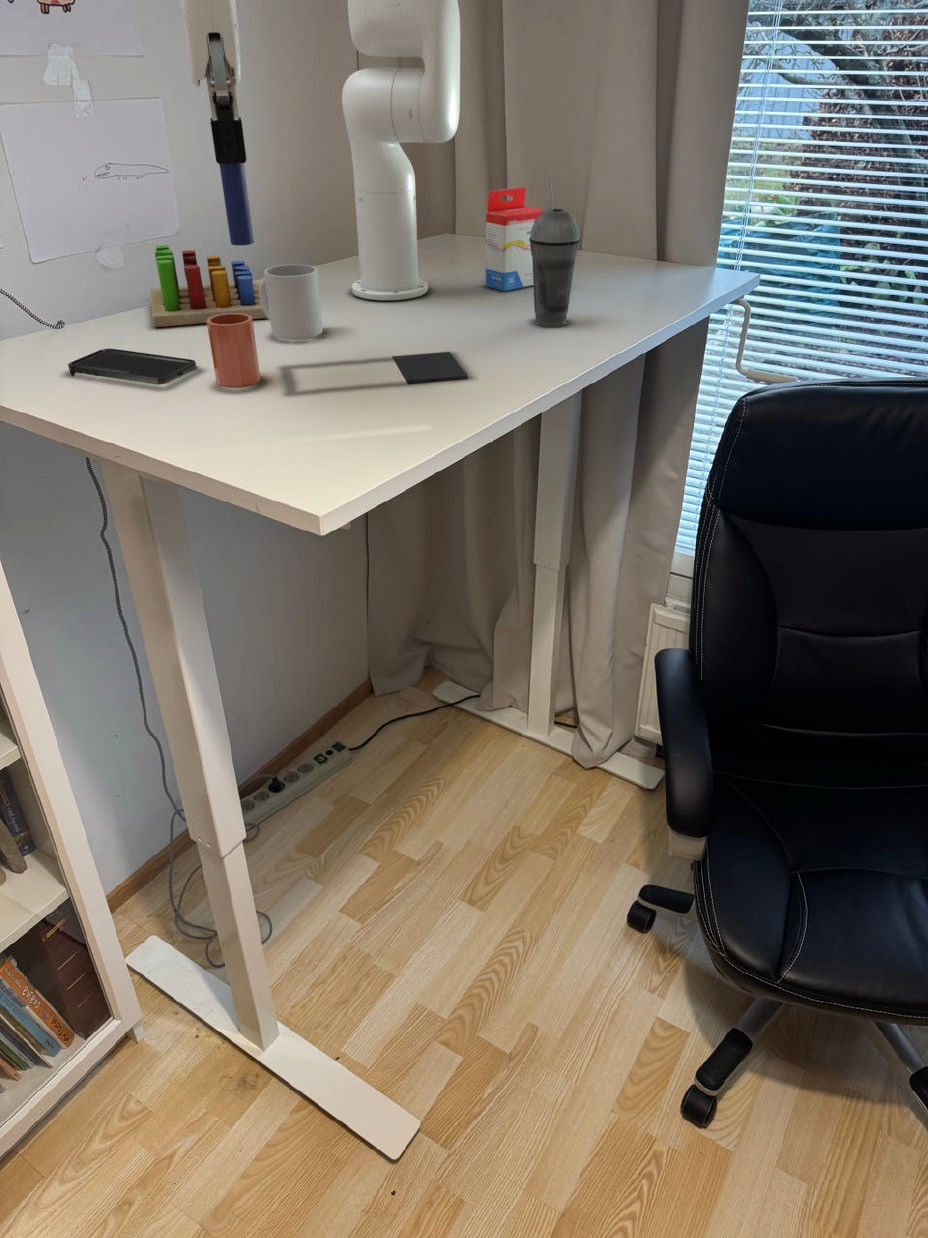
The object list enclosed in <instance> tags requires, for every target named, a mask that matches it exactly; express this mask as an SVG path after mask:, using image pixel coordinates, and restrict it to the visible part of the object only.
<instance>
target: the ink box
mask: <svg viewBox="0 0 928 1238" xmlns="http://www.w3.org/2000/svg"><path fill="white" fill-rule="evenodd" d="M526 192H527V190H526V187H525V186H522V187H512V188H504V189H497V190H490V191H488V192H487V207H486V208H487V209H486V213H485V286H486V287H487V288H491V289H495V290H498V291H502V292H506V291H511V290H517V289H521V288H522V289H523V288H527V287H531V286H534V282H533V258H532V254H531V247H530V242H529V239H530V236H531V230H532V226H533V224H534V222H535V220H536V219H537V218H538V216H540V215H541V214H542V213H543V212H544V210H543V209H541V208H537V207H532V206H525V205H526V203H525V202H526ZM506 196H508V197H512V199H511V200H505V201H501V198H506Z"/></svg>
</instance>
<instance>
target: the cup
mask: <svg viewBox="0 0 928 1238" xmlns="http://www.w3.org/2000/svg"><path fill="white" fill-rule="evenodd" d="M263 272H264V276H263V277H262V279H261V280H260V281H259V282H260V286H259V296H260V302H261V306H262V309H263V311H264V314H265V315H266V317H267V318H266V319H268V320H269V321H270V322H269V323H270V327H271V328H270V330H271V334H272V335H273V336H274V337H275V338H278V339H285V340H303V339H304V340H305V339H309V338H314V337H318V336H319V335H321V334H322V333H323V332H324V331H323V329H324V328H323V327H324V325H323V316H322V303H321V294H320V283H319V273H318V272H319V271H318V267H315V266H313V265H310V264H295V263H293V264H281V265H275V266H270V267H268V268H266V269H265V270H264V271H263Z"/></svg>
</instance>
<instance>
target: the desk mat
mask: <svg viewBox="0 0 928 1238" xmlns="http://www.w3.org/2000/svg"><path fill="white" fill-rule="evenodd" d="M391 358H392V360H393V361H394V363H395V365H396V367H397V369H398V370H399V372H400V373H401V376H402V377H403V379H404V381H405V382H406V384H407V385H408V384H409V385H410V384H419V383H430V382H431V383H433V382H442V381H443V382H444V381H453V380H466V379H468V377H469V376H468V373H466V372H465V370H464V369H463V368H462V366H461V365H460V363H459V362H458V361H457V359H456V358H455V357H454V355H453V354H452V353H451V351H443V352H441V351H440V352H429V353H417V354H406V355H405V354H404V355H393V356H392V355H391Z"/></svg>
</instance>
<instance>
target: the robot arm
mask: <svg viewBox="0 0 928 1238" xmlns="http://www.w3.org/2000/svg"><path fill="white" fill-rule="evenodd" d="M179 2H180V9H181V16H182V23H183V29H184V30H183V31H184V35H185V42H186V48H187V56H188V62H189V68H190V74H191V80H192V84H193V85H194V86H195V87H197V88H200V87H201V81H204V80H205V78H206V84H207V92H208V99H209V105H210V106H209V107H210V112H211V117H210V129H211V135H212V143H213V149H214V157H215V162H216V164H218V165H219V164H237V163H244V164H246V162H247V152H246V145H245V137H244V128H243V122H242V117H240V116H239V108H238V101H237V93H236V92H237V91H236V90H237V88H236V87H237V86H239V85H240V83H241V81H242V80H241V79H242V77H241V75H242V70H241V69H242V66H241V64H242V63H241V47H240V46H241V45H240V33H239V32H240V31H239V22H238V21H239V20H238V13H237V4H236V3H237V2H236V0H179ZM347 13H348V14H347V15H348V16H347V17H348V26H349V32H350V38H351V41H352V44H353V46H354V48H355V49H356V50H357V51H358V52H360V53H361V54H363V55H366V56H371V57H383V58H384V57H385V58H421V59H422V60H423V64H424V68H404V67H368V68H363V69H359V70H357V71H355V72H353V73H351V74H350V75H349V77H348V78H347V79H346V80H345V82H344V85H343V87H342V91H341V105H342V114H343V117H344V122H345V126H346V127H345V128H346V130H347V135H348V140H349V146H350V152H351V153H350V154H351V161H352V162H351V163H352V172H353V187H354V198H355V200H354V201H355V216H356V218H355V219H356V230H357V231H356V232H357V246H358V247H357V248H358V261H359V262H358V263H359V276H360V279H359V280H356V281H354V282H353V283H351V293H352V294H353V295H354V296H355V297H357V298H361V299H366V300H371V301H373V300H374V301H385V302H386V301H402V300H410V299H415V298H418V297H421V296H423V295H425V294H427V292H428V290H429V284H428V282H427V281H426V280H425V279H422V278H419V261H418V260H419V259H418V227H417V226H418V225H417V224H418V223H417V199H416V198H417V193H416V175H415V171H414V168H413V165H412V163H411V161H410V159H409V157H408V156H407V154H406V153H405V150H403V148H402V146H401V145H400V144H403V143H412V144H413V143H417V144H441V143H445V142H448V141H450V140H452V139H453V137H454V136H455V134H456V133H457V130H458V127H459V122H460V110H461V16H460V8H459V2H458V0H347ZM232 108H233V110H232ZM216 110H217V113H216ZM233 116H234V118H233ZM217 117H218V120H217Z"/></svg>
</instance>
